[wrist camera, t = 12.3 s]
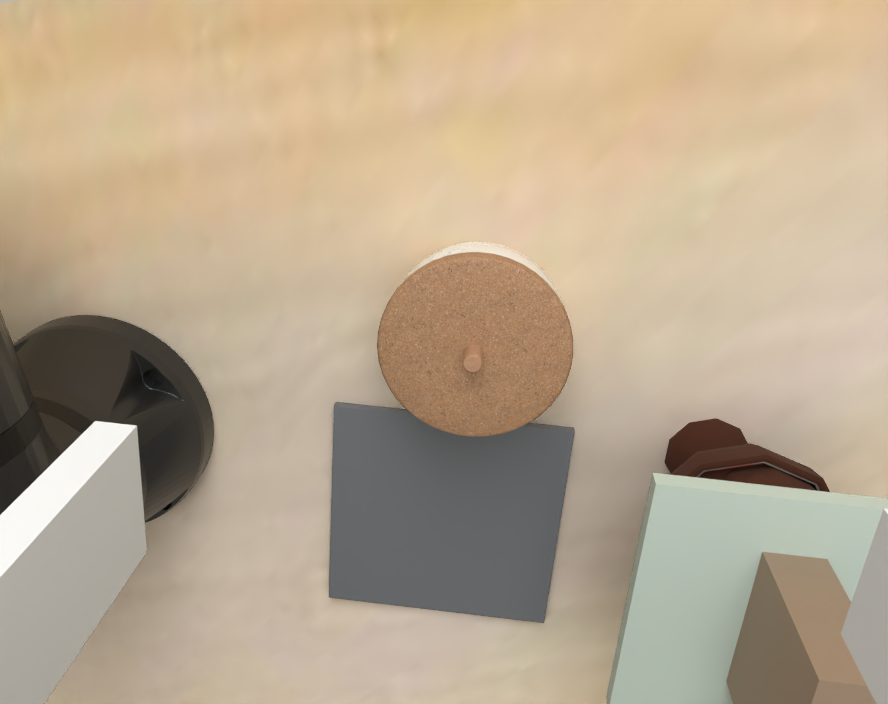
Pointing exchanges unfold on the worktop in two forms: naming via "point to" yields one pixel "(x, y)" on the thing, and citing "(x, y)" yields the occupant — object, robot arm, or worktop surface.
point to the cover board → (743, 595)
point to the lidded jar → (475, 340)
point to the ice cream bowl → (734, 458)
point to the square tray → (445, 514)
